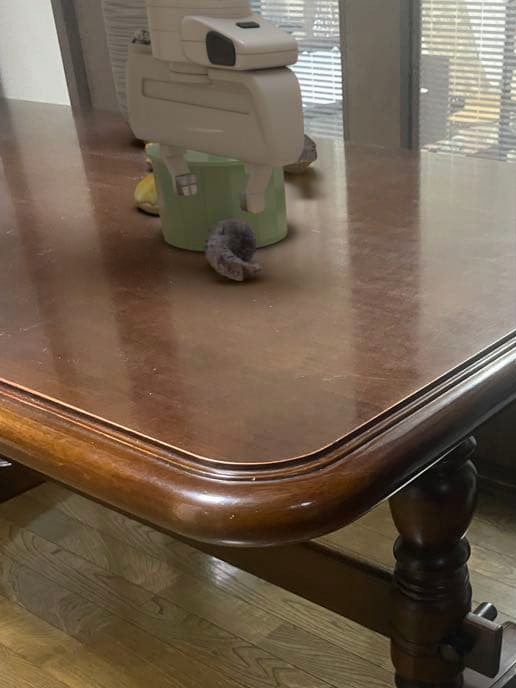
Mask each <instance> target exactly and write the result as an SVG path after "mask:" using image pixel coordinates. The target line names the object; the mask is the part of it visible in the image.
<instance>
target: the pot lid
mask: <svg viewBox="0 0 516 688" xmlns="http://www.w3.org/2000/svg"><path fill="white" fill-rule="evenodd" d="M186 150H187V153H186V154H183V155H184V158H185V161H186V163H187V166H189V167H223V166H237V165H244V161H240V160H235V159H231V158H226V157H221V156H216V155H212V154H207V153H202V152H197V151H193V150H188V149H186ZM145 155H146V158H147V157H148V158H149V159H151V160H153V161H156V162H159V163H163V164H165V163H164V161H163V159H162V157H161V154H160V147H159V143H155V144H153V145H151V146H149V147H148V148H147V150H146V153H145Z"/></svg>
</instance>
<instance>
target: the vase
mask: <svg viewBox="0 0 516 688" xmlns="http://www.w3.org/2000/svg"><path fill="white" fill-rule="evenodd" d="M100 6H101V13H102V18H103V25H104V29H105V36H106V42H107V48H108V53H109V59H110V65H111V71H112V76H113V82H114V87H115V93H116V98H117V102H118V107H119V111H120V113H121V117H122V120H123V121H124V123H125V124H126V126H127V127H128V129H130V130H131V131H132V129H131V127H130V124H129V119H128V108H127V95H126V64H127V60H128V58H129V55H128V44H129V43H130V41H131V39H132V37H133V36H134V35H135V32H136V31H137V30H142V29H143V30H148V31H149V24H148V16H147V8H146V0H100ZM136 42H138V41H137V40H136ZM138 43H140V42H138ZM150 44H151V43H150ZM142 141H143V144H144V145H146V144H150V143H149V141H145V140H142Z"/></svg>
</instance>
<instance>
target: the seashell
mask: <svg viewBox="0 0 516 688" xmlns="http://www.w3.org/2000/svg"><path fill="white" fill-rule="evenodd" d="M256 238H257V237H256V235H255V233H254V232H253V231H252V230H251V229H250V227H249V226H248V225H247V224H246V223H244V222H242V221H240V220H236V219H228V220H223V221H219V222H217V223H216V224H215V225H214V226H213V227H211V229H209V230H208V233H207V236H206V240H205V247H204V251H203V252H204V253H205V257H206V260H207V261H208V264H210V267H211V268H213V270H214V271H215V272H216V273H218V274H219V275H220V276H221V277H227V278H229V279H231V280H234V281H238V282H242V281H243V280H244V273H245V274H247V275H250V276H252V277H253V276H255V275H257V274H258V273H259V272H262V270H263V265H262V263H261V262H259V261H252V259H253V257H254V255H255V252H256V250H257V248H256Z"/></svg>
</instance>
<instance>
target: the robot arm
mask: <svg viewBox="0 0 516 688" xmlns="http://www.w3.org/2000/svg"><path fill="white" fill-rule="evenodd" d="M252 4H253V2H252V0H146V8H147V16H148V24H149V31H148V30H143V29H142V30H137V31H136V32H135V35H134V36H133V37H132V39H131V41H130V43H129V44H128V55H129V58H128V60H127V64H126V95H127V108H128V119H129V124H130V127H131V129H132V130H131V129H130V130H131V131H132V134H133V135H134V136H135V138H136V139H138V140H142V141H143V140H145V141H150V142H155V143H159V147H160V154H161V157H162V159H163V161H164V163H165V165H166V167H167V169H168V171H169V173H170V175H172V183H173V190H174V193H175V194H178V195H183V196H190V195H195V194H196V193H197V186H196V175H193V174H190V171H189V169H188V166H187V163H186V161H185V158H184V155H183V154H186V153H187V150H186V149H188V150H193V151H197V152H202V153H207V154H212V155H216V156H221V157H226V158H231V159H235V160H240V161H244V169H245V173H246V174H248V175H249V174H250V176H249V179H248V183H247V187H246V190H244V191H240V192H239V197H240V201H241V203H240V208H241V210H243V211H246V212H250V213H254V214H255V213H259V212H262V211H264V209H265V198H264V191H265V190H266V187H267V185H268V182H269V180H270V177H271V175H272V167H278V166H284V165H288V164H292V163H296V162H297V161H298V160H299V158H300V156H301V154H302V152H303V150H304V134H305V119H304V107H303V96H302V89H301V84H300V82H299V79H298V76H297V75H296V73H295V72H294V71H293V69H292V68H291V67H289V66H293V65H296V64H297V63H298V59H299V45H298V42H297V41H298V40H297V39H296V38H295V37H294V36H293V35H292V34H290V32H289V33H288V32H287V31H285V30H284V29H282V28H280V27H278V26H276V25H275V24H274V23H272V22H270V21H269V20H267V19H266V18H265V17H263V16H262V15H260V14H259V13H257V12H256V11H253V6H252ZM136 40H137V41H138V42H140V43H138V42H136ZM150 43H151V44H150Z"/></svg>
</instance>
